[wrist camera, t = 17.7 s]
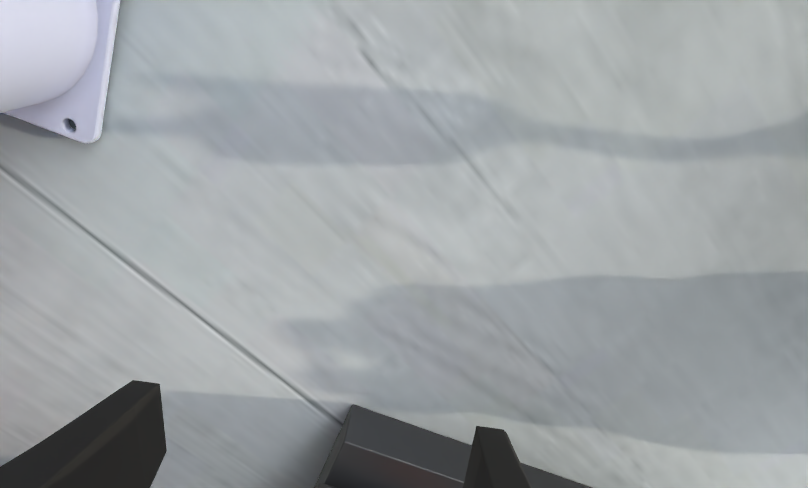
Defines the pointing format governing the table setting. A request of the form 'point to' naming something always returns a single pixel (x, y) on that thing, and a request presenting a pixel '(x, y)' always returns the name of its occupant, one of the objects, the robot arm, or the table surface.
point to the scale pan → (324, 486)
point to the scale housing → (405, 457)
